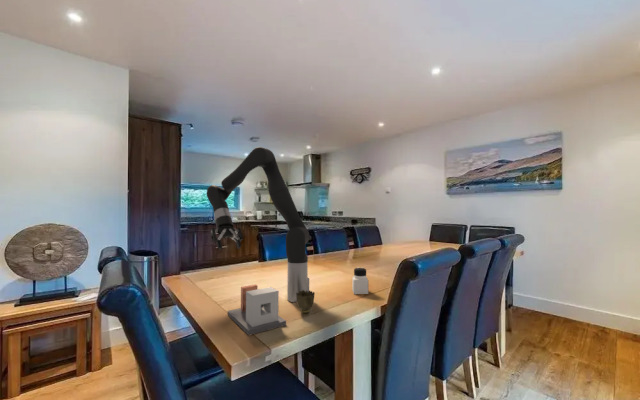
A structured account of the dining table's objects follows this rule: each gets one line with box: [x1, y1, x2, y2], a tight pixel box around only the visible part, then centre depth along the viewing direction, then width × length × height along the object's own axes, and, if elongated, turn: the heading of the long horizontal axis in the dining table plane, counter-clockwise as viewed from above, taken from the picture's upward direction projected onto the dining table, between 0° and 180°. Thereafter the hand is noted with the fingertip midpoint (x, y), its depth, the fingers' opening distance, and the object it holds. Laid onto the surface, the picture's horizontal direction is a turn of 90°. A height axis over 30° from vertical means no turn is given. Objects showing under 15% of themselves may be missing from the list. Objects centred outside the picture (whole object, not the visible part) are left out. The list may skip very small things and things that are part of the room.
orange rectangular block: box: [240, 284, 264, 312], centre depth 106 cm, size 6×11×9 cm, turn 36°
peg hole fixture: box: [227, 286, 287, 336], centre depth 105 cm, size 14×22×12 cm, turn 36°
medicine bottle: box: [351, 267, 369, 295], centre depth 139 cm, size 7×7×12 cm
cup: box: [296, 290, 316, 315], centre depth 112 cm, size 8×7×8 cm
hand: (230, 248), depth 126 cm, fingers open, 8 cm apart
